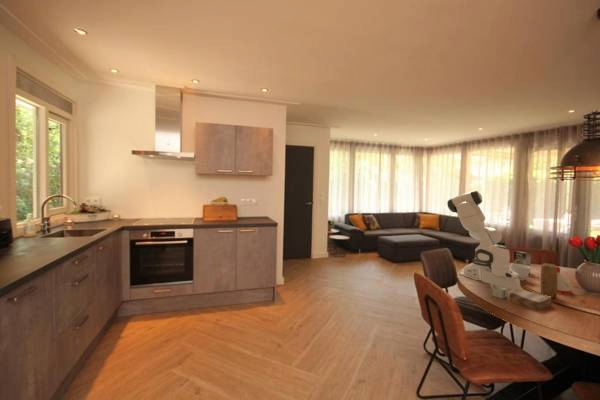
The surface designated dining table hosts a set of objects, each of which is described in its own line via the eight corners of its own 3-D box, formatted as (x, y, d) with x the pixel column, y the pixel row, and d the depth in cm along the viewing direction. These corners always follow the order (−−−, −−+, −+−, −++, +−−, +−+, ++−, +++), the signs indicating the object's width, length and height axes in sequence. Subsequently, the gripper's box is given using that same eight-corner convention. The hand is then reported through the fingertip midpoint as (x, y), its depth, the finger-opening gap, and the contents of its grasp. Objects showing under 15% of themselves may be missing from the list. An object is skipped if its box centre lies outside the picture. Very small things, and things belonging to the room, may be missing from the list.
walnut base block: (509, 301, 163) (510, 293, 162) (522, 297, 169) (522, 289, 168) (538, 311, 150) (538, 302, 150) (551, 306, 156) (551, 297, 156)
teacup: (520, 275, 210) (520, 262, 210) (534, 282, 195) (535, 268, 195) (503, 275, 211) (503, 262, 211) (516, 281, 196) (517, 268, 196)
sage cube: (493, 295, 171) (493, 287, 170) (497, 294, 173) (497, 286, 173) (502, 298, 166) (502, 290, 166) (506, 297, 169) (506, 289, 168)
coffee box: (512, 270, 223) (513, 251, 223) (518, 269, 225) (519, 250, 224) (524, 273, 214) (525, 253, 214) (530, 273, 216) (531, 253, 216)
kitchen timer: (574, 291, 178) (575, 268, 178) (566, 295, 172) (567, 271, 171) (547, 284, 190) (547, 263, 190) (538, 288, 184) (539, 266, 183)
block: (557, 299, 164) (558, 267, 163) (540, 296, 169) (541, 265, 168) (555, 294, 173) (556, 263, 172) (539, 291, 177) (540, 261, 176)
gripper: (479, 267, 177) (479, 288, 177) (516, 276, 159) (516, 299, 159) (485, 266, 180) (484, 286, 180) (522, 274, 162) (521, 297, 162)
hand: (499, 293), depth 170 cm, fingers closed on sage cube, 5 cm apart
